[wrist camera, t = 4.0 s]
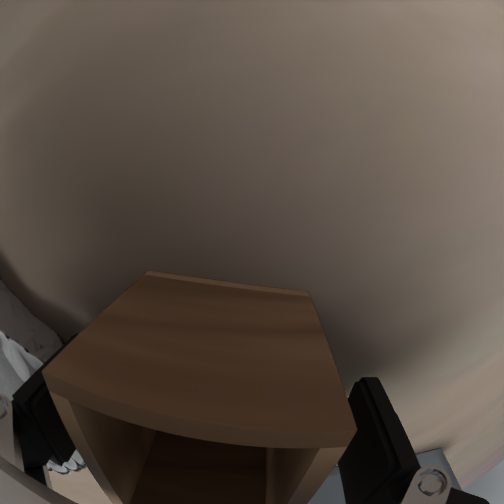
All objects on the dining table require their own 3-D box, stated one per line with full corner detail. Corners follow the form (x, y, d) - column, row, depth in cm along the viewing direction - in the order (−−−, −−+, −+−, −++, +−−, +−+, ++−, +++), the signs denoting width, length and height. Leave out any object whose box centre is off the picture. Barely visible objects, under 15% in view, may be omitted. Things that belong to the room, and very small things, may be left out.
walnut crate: (149, 269, 9) (41, 371, 4) (308, 290, 9) (357, 430, 4) (158, 408, 11) (117, 509, 5) (274, 425, 11) (277, 537, 5)
